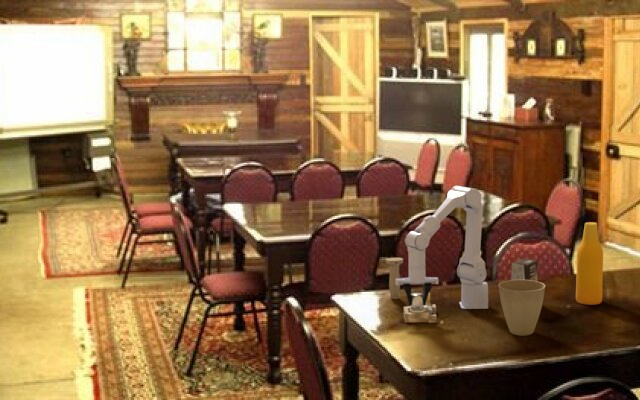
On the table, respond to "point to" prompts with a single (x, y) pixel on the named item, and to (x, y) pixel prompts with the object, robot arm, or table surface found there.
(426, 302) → the pin
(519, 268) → the coffee box
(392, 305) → the table surface
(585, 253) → the beer bottle
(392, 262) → the handle
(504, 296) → the plant pot
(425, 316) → the dock
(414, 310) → the silver metal cylinder
